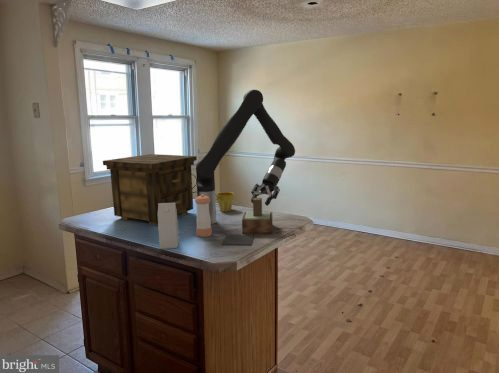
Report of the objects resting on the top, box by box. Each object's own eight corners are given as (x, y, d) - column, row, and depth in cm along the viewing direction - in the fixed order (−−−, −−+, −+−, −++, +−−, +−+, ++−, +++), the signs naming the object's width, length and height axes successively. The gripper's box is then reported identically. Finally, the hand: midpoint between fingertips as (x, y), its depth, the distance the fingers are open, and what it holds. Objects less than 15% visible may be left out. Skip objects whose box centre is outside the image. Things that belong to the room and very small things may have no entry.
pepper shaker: (195, 232, 176) (193, 193, 172) (210, 231, 178) (208, 192, 174) (197, 237, 169) (195, 196, 165) (213, 235, 171) (211, 195, 167)
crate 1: (154, 206, 230) (150, 154, 223) (199, 212, 213) (196, 156, 206) (108, 220, 200) (102, 160, 194) (156, 229, 183) (151, 163, 177)
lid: (244, 220, 173) (243, 201, 171) (246, 214, 184) (246, 196, 183) (269, 220, 172) (269, 201, 170) (270, 214, 183) (270, 196, 182)
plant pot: (232, 212, 211) (231, 195, 209) (214, 211, 213) (214, 195, 211) (236, 208, 221) (235, 192, 219) (219, 207, 223) (219, 191, 221)
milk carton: (162, 243, 162) (159, 201, 158) (178, 242, 162) (176, 200, 159) (159, 249, 155) (156, 205, 151) (176, 248, 155) (174, 204, 152)
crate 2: (242, 233, 173) (242, 219, 172) (244, 224, 187) (244, 212, 185) (272, 233, 172) (272, 219, 171) (272, 225, 186) (272, 212, 184)
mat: (221, 245, 158) (221, 244, 158) (225, 235, 171) (225, 234, 171) (251, 245, 157) (251, 244, 157) (253, 235, 170) (253, 234, 170)
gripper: (258, 171, 186) (244, 197, 180) (281, 173, 177) (267, 201, 171) (264, 179, 191) (251, 205, 185) (287, 182, 182) (274, 209, 176)
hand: (259, 203), depth 178 cm, fingers open, 8 cm apart
